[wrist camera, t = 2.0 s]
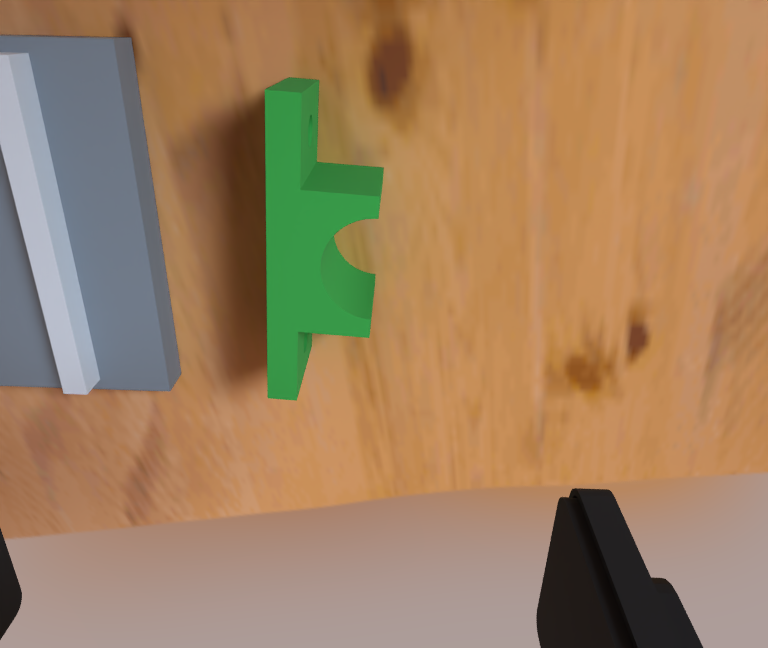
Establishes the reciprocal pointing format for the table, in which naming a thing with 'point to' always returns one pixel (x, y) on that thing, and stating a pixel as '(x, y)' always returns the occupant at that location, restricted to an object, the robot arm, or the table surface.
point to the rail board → (79, 222)
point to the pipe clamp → (309, 237)
